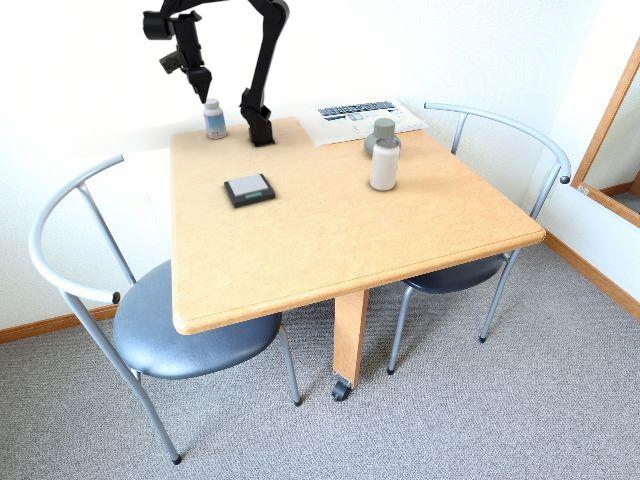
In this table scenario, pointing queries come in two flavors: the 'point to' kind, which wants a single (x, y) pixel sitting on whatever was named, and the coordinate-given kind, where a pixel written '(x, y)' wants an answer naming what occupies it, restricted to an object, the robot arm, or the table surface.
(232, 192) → the scale
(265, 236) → the table surface
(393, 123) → the air freshener
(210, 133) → the pill bottle
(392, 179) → the can
